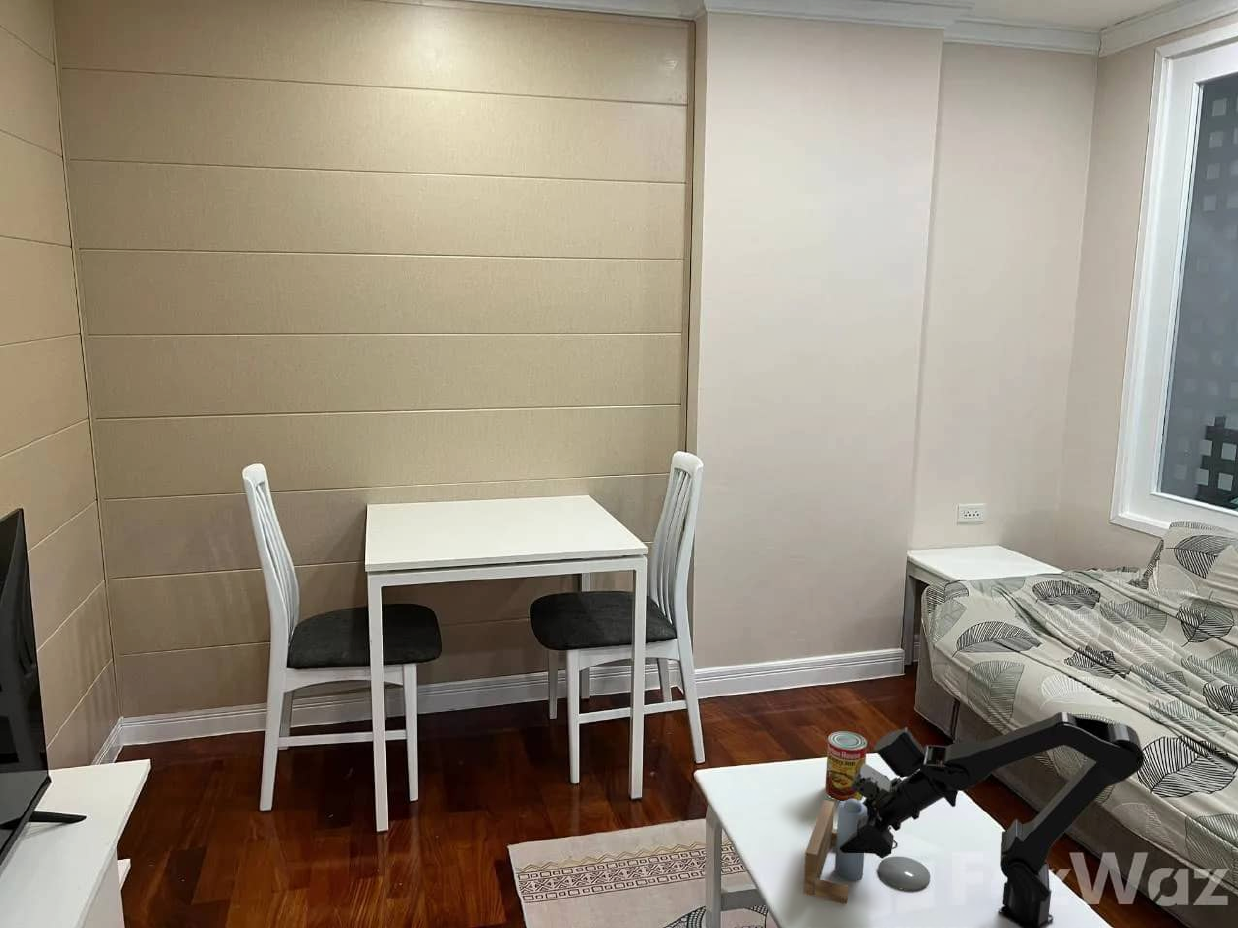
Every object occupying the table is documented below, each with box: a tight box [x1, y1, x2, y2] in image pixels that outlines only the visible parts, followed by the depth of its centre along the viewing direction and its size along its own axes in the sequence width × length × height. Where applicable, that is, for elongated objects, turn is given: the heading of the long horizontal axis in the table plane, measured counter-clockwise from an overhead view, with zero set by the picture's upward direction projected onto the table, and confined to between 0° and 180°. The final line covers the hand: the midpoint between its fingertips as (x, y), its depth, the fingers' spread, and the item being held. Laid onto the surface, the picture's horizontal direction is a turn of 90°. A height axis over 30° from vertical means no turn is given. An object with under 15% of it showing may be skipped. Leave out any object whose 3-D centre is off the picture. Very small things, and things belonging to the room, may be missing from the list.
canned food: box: [824, 730, 868, 802], centre depth 195 cm, size 8×8×12 cm
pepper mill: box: [834, 799, 867, 882], centre depth 168 cm, size 5×5×15 cm
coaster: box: [877, 856, 931, 891], centre depth 169 cm, size 9×9×1 cm
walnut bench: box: [802, 799, 849, 905], centre depth 170 cm, size 8×18×8 cm, turn 158°
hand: (845, 836), depth 168 cm, fingers open, 9 cm apart
